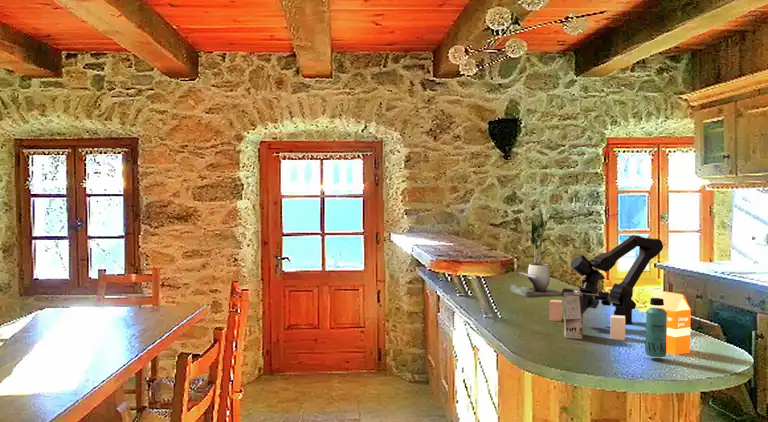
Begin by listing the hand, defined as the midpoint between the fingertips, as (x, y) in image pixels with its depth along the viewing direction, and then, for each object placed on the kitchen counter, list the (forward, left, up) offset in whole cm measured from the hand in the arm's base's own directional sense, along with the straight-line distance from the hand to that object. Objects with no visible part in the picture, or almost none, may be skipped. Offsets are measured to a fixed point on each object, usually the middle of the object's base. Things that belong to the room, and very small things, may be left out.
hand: (580, 314), depth 251 cm
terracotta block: (+11, -18, -6) cm, 22 cm away
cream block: (-13, +9, -6) cm, 18 cm away
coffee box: (+2, +11, -7) cm, 14 cm away
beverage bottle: (-24, +37, -7) cm, 45 cm away
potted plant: (+25, -86, -7) cm, 89 cm away
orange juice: (-30, +23, -7) cm, 39 cm away
